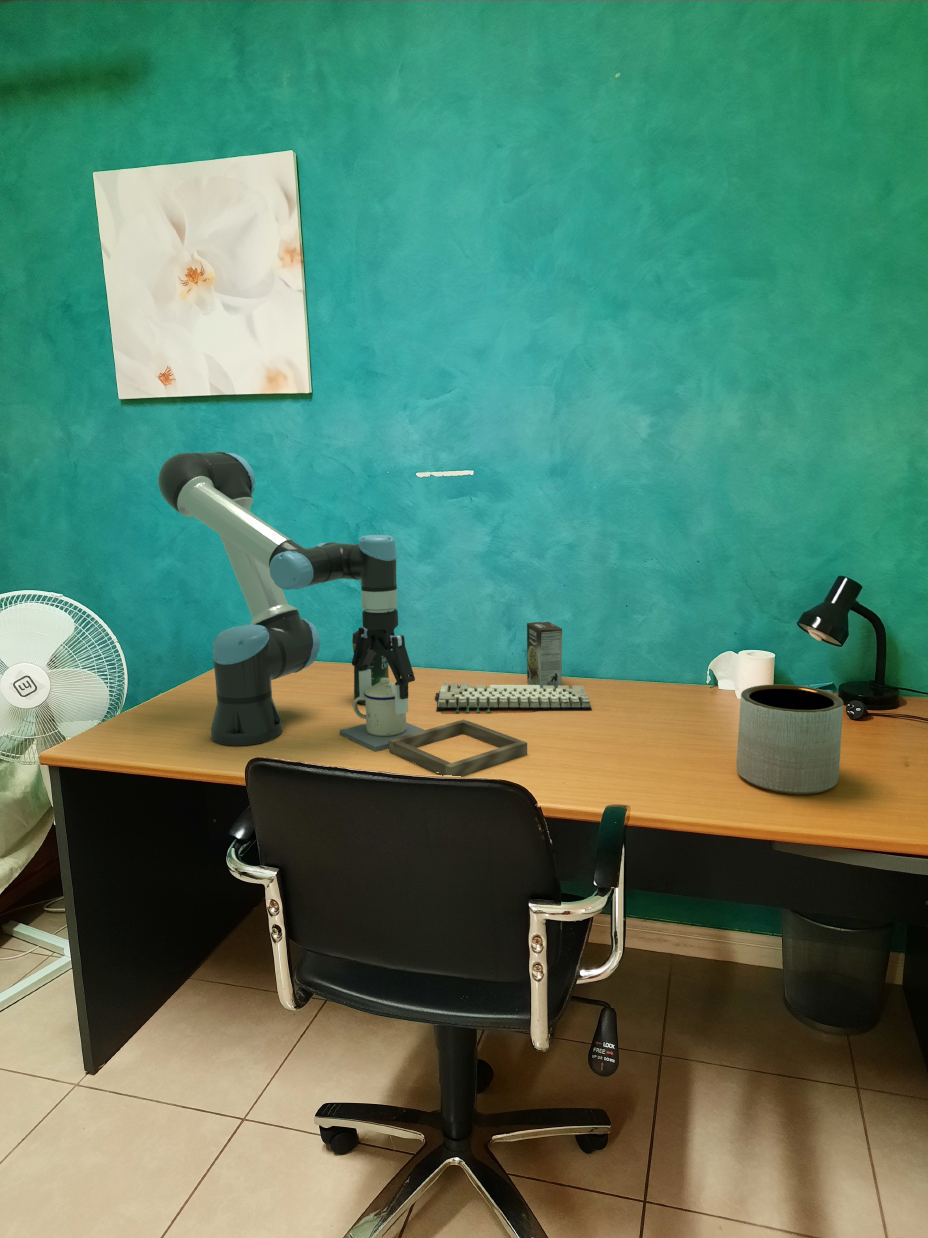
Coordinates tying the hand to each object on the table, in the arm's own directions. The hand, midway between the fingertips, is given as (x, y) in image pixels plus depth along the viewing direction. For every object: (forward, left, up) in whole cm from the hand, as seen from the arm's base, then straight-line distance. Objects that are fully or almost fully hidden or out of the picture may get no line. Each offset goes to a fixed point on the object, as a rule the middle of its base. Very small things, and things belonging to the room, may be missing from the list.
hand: (383, 705), depth 181 cm
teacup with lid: (0, +1, -6) cm, 6 cm away
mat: (0, 0, -7) cm, 7 cm away
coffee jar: (+13, +24, -7) cm, 28 cm away
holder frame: (+5, -19, -7) cm, 21 cm away
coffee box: (+53, +4, -7) cm, 54 cm away
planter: (+42, -70, -7) cm, 82 cm away
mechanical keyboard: (+38, 0, -8) cm, 38 cm away
